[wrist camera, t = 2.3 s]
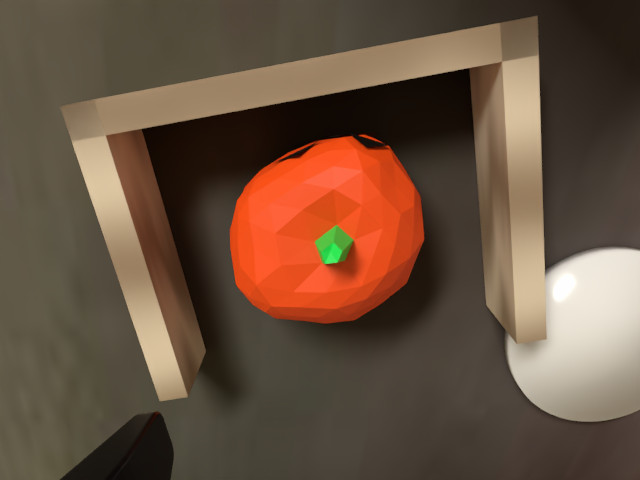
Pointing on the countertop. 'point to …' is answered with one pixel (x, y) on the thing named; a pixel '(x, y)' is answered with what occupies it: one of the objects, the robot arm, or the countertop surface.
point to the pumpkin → (327, 230)
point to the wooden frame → (299, 83)
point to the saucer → (585, 338)
